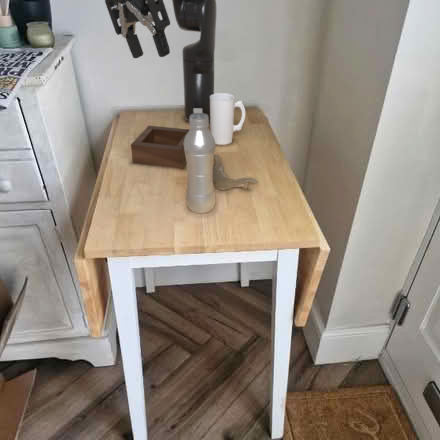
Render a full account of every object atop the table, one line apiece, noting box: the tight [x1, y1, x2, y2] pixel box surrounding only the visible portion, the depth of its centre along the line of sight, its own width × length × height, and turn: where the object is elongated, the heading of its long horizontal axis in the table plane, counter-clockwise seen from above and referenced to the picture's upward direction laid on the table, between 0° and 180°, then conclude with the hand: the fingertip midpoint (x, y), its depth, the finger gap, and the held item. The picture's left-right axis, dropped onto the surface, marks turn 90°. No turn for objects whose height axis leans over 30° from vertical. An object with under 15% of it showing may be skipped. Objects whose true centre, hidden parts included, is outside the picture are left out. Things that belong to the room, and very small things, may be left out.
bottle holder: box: [130, 125, 190, 170], centre depth 113 cm, size 14×14×5 cm
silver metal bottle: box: [183, 113, 217, 214], centre depth 88 cm, size 6×7×20 cm
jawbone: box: [213, 153, 259, 191], centre depth 106 cm, size 9×20×2 cm, turn 30°
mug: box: [209, 92, 246, 146], centre depth 119 cm, size 10×7×12 cm, turn 99°
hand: (151, 56), depth 82 cm, fingers open, 8 cm apart
